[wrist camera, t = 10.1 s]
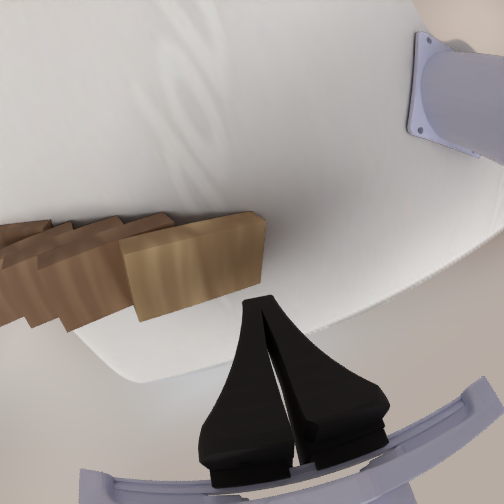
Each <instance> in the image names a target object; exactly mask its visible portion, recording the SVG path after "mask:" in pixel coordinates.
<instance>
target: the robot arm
mask: <svg viewBox="0 0 504 504" xmlns="http://www.w3.org/2000/svg"><path fill="white" fill-rule="evenodd" d="M427 40H428V42H427ZM418 128H420V130H419V132H418ZM407 129H408V132H409V133H410V134H411V135H414V136H417V137H421V138H424V139H427V140H430V141H433V142H436V143H439V144H442V145H445V146H448V147H450V148H453V149H456V150H459V151H461V152H464V153H466V154H469V155H471V156H474V157H476V158H479V157H480V156H481V155H482V156H484V157H486V158H489V159H491V160H493V161H495V162H497V163H499V164H501V165H503V166H504V57H503V56H497V55H489V54H480V53H469V52H456V51H454V50H453V49H451V48H450V47H448V46H447V45H445V44H443V43H442V42H440V41H438V40H437V39H435V38H433V37H432V36H430V35H428V34H426V33H425V32H422V31H421V32H417V33H416V44H415V64H414V77H413V88H412V97H411V105H410V112H409V119H408V126H407ZM242 306H243V315H242V325H241V331H240V337H239V342H238V346H237V350H236V354H235V357H234V361H233V364H232V367H231V370H230V372H229V375H228V378H227V380H226V383H225V385H224V387H223V389H222V392H221V394H220V396H219V398H218V400H217V402H216V404H215V406H214V407H213V409H212V411H211V412H210V414H209V416H208V417H207V419H206V421H205V422H204V424H203V425H202V428H201V432H200V437H199V444H198V452H199V462H200V463H201V464H202V465H204V466H205V467H206V468H208V469H209V470H210V476H211V480H199V481H152V480H136V479H125V478H116V477H112V476H111V475H109V474H106V473H103V472H98V471H93V470H87V469H80V480H79V504H417V502H416V500H415V497H414V495H413V492H412V489H411V487H410V484H409V481H410V480H412V479H414V478H416V477H418V476H419V475H421V474H423V473H424V472H426V471H428V470H429V469H431V468H433V467H434V466H436V465H437V464H439V463H440V462H442V461H444V460H445V459H447V458H448V457H450V456H451V455H452V454H454V453H455V452H456V451H458V450H459V449H461V448H462V447H464V446H465V445H466V444H467V443H469V442H470V441H471V440H473V439H474V438H475V437H476V436H478V435H479V434H480V433H481V432H482V431H484V430H485V429H486V428H487V427H488V426H490V425H491V424H492V423H493V422H494V421H495V420H496V419H498V418H499V417H500V416H501V415H502V414H503V413H504V407H503V405H502V404H501V402H500V400H499V399H498V397H497V395H496V394H495V392H494V390H493V389H492V387H491V385H490V384H489V382H488V381H487V379H486V378H485V376H482V377H481V378H480V379H478V380H477V381H475V382H474V383H473V384H471V385H470V386H469V387H467V388H466V389H465V390H464V391H463V393H462V394H461V396H459V397H458V398H456V399H455V400H453V401H451V402H450V403H448V404H447V405H445V406H443V407H442V408H440V409H438V410H437V411H435V412H433V413H432V414H430V415H428V416H426V417H424V418H422V419H420V420H419V421H417V422H415V423H413V424H411V425H409V426H407V427H405V428H403V429H401V430H399V431H396V432H394V433H392V434H390V435H388V436H387V435H386V433H385V431H384V429H383V428H384V427H385V424H384V422H383V420H382V418H383V417H384V416H385V414H386V413H387V411H388V410H389V408H390V404H389V401H388V399H387V397H386V396H385V394H384V393H383V392H382V390H381V389H380V388H379V386H378V385H376V384H374V383H372V382H370V381H368V380H366V379H364V378H362V377H360V376H358V375H356V374H355V373H353V372H351V371H349V370H348V369H346V368H345V367H343V366H342V365H340V364H339V363H337V362H336V361H334V360H333V359H331V358H330V357H329V356H328V355H326V354H325V353H324V352H322V351H321V350H320V349H319V348H318V347H316V346H315V345H314V344H313V343H312V342H311V341H310V340H309V339H308V338H307V337H306V336H305V335H304V334H303V333H302V332H301V331H300V330H299V329H298V328H297V327H296V326H295V325H294V323H293V322H292V321H291V320H290V319H289V318H288V316H287V315H286V314H285V313H284V311H283V310H282V309H281V307H280V306H279V304H278V303H277V301H276V300H275V298H274V296H272V295H266V296H261V297H256V298H251V299H246V300H244V301H243V302H242ZM267 350H268V351H267ZM268 353H269V355H270V358H271V361H272V364H273V367H274V369H275V372H276V375H277V377H278V380H279V383H280V386H281V389H282V393H283V397H284V400H285V404H286V408H287V412H288V417H289V420H288V417H287V414H286V411H285V408H284V405H283V402H282V399H281V395H280V392H279V389H278V386H277V382H276V379H275V376H274V372H273V369H272V365H271V362H270V358H269V355H268ZM289 421H290V423H289ZM290 425H291V426H290ZM294 445H295V446H296V450H297V454H298V459H299V463H300V466H297V467H293V466H292V464H293V458H294ZM390 450H391V451H390ZM388 451H389V452H388ZM386 452H387V453H386ZM384 453H385V454H384ZM381 454H383V455H382V456H379V455H381ZM376 456H379V457H378V458H375V459H373V460H371V461H370V462H369V464H368V465H367V466H366V467H364V468H362V469H361V470H360V472H359V473H356V474H353V475H350V476H347V477H344V478H341V479H338V480H335V481H331V482H328V483H324V484H321V485H318V486H314V487H310V488H306V489H302V490H299V491H294V492H290V493H286V494H281V495H277V496H272V497H268V498H262V499H257V500H250V501H249V499H248V498H241V496H240V495H226V496H225V495H222V496H208V495H220V494H231V493H241V492H249V491H256V490H262V489H268V488H274V487H278V486H284V485H288V484H293V483H297V482H301V481H305V480H309V479H313V478H317V477H320V476H324V475H327V474H330V473H333V472H336V471H339V470H342V469H345V468H348V467H351V466H354V465H356V464H359V463H362V462H364V461H367V460H369V459H372V458H374V457H376Z"/></svg>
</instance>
